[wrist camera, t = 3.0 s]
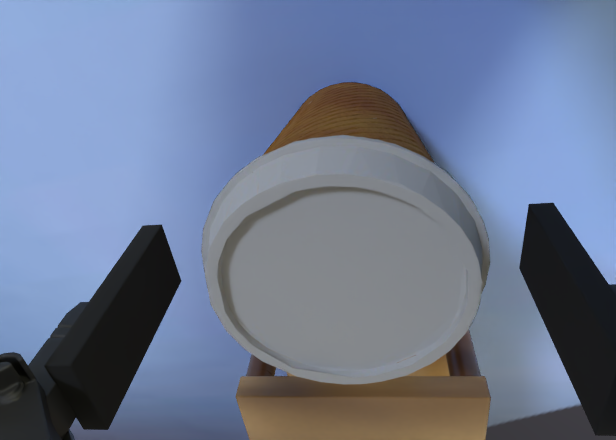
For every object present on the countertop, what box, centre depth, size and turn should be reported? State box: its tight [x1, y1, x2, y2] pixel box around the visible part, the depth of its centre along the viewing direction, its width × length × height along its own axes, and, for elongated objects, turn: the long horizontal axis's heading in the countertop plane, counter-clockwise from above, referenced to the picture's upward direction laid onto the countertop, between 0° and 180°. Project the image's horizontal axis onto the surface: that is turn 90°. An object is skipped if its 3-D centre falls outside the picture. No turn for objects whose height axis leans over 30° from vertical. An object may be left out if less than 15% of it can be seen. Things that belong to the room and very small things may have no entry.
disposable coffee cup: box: [201, 82, 490, 384], centre depth 20 cm, size 10×10×12 cm
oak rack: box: [236, 329, 491, 440], centre depth 28 cm, size 12×12×10 cm
